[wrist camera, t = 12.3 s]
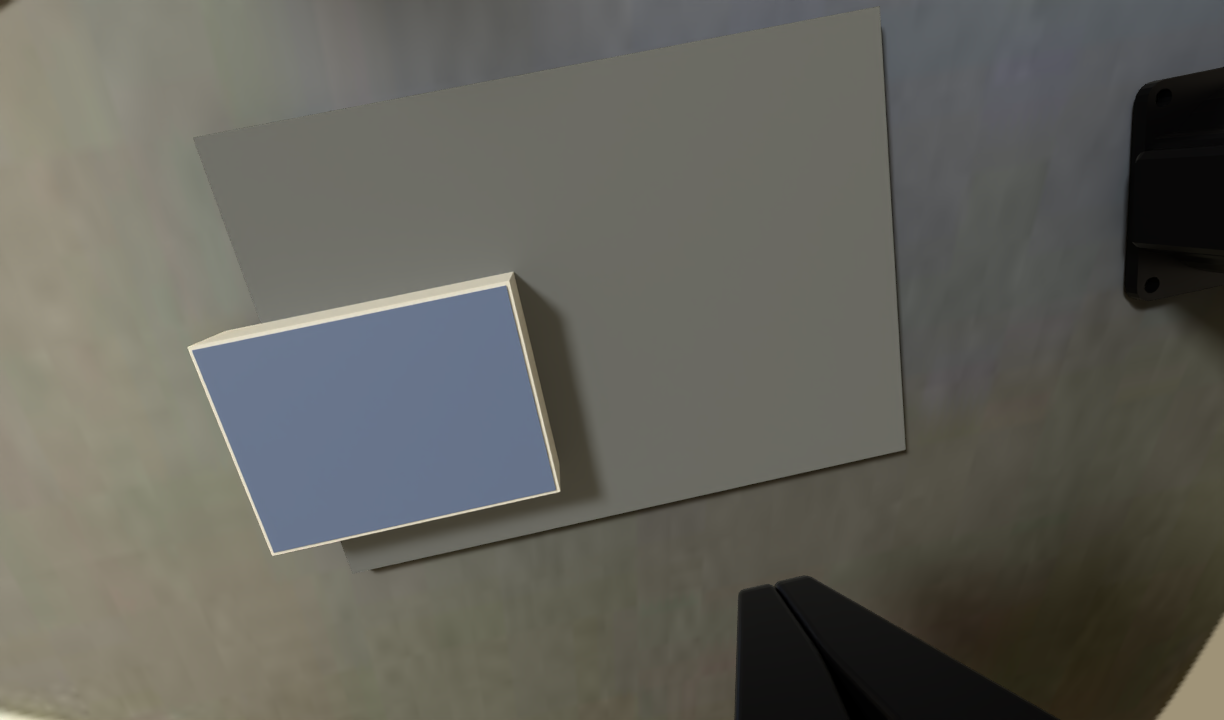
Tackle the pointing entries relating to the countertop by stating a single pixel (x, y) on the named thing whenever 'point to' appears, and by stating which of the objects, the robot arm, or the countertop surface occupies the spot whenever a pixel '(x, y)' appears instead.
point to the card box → (382, 412)
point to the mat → (617, 255)
